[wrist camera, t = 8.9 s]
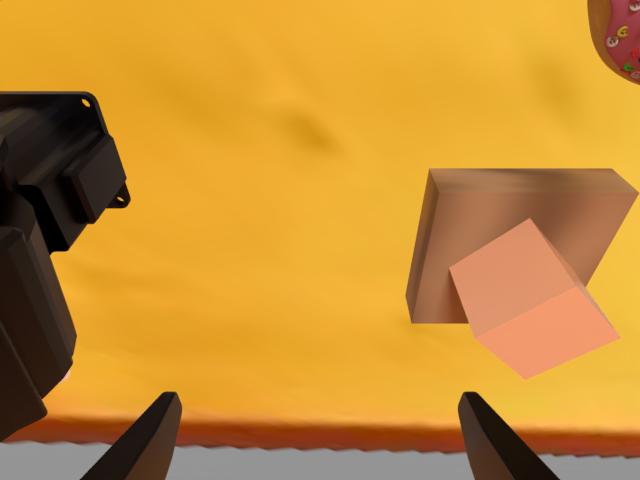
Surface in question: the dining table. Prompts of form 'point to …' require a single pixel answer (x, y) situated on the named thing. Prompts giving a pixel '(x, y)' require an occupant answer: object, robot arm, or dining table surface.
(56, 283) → the robot arm
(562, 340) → the cube
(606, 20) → the cupcake
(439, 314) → the base
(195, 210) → the dining table surface
